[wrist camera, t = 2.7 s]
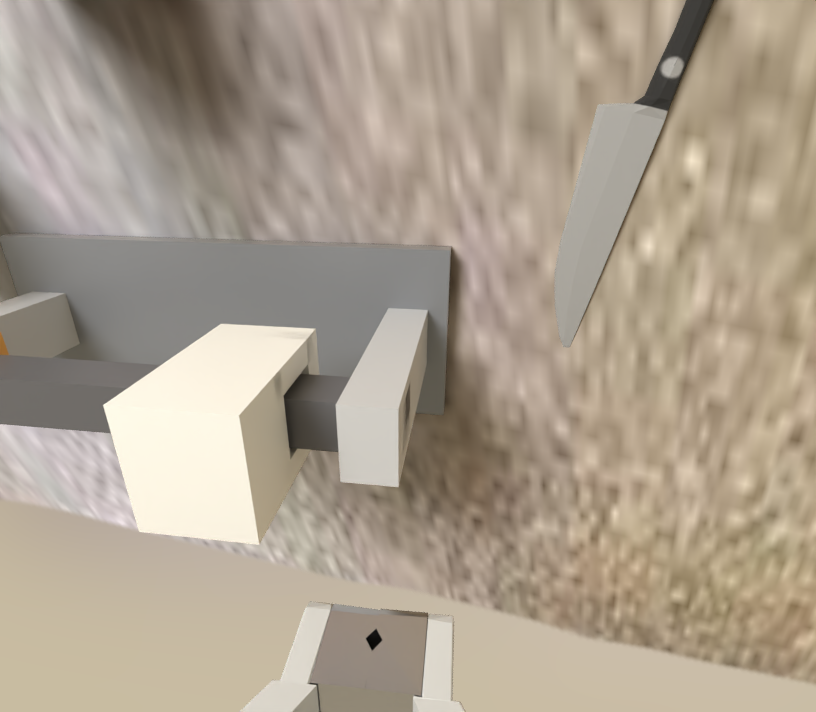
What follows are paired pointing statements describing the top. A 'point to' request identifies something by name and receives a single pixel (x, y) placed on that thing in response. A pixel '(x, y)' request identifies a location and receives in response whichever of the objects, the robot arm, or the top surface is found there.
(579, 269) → the chef's knife
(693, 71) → the top surface
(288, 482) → the cream sliding block
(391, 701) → the robot arm
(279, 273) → the grey slider rail base
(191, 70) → the top surface
